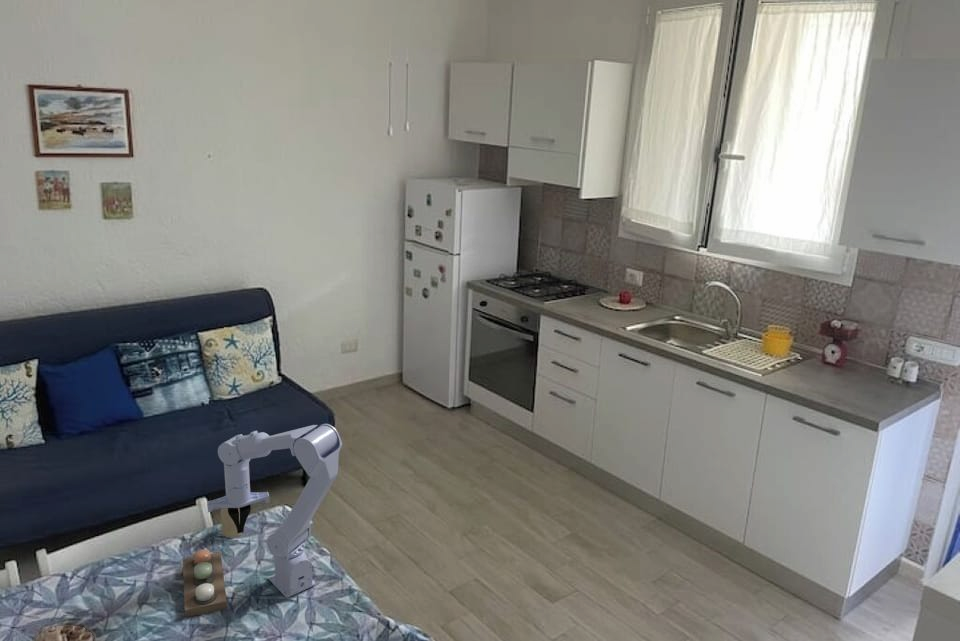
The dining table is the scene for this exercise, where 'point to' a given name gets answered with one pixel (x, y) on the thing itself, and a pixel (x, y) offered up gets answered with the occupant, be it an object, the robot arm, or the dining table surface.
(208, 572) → the button sage
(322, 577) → the dining table surface
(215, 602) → the button panel
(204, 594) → the button cream
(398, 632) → the dining table surface
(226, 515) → the candle
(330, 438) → the robot arm
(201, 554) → the button terracotta
